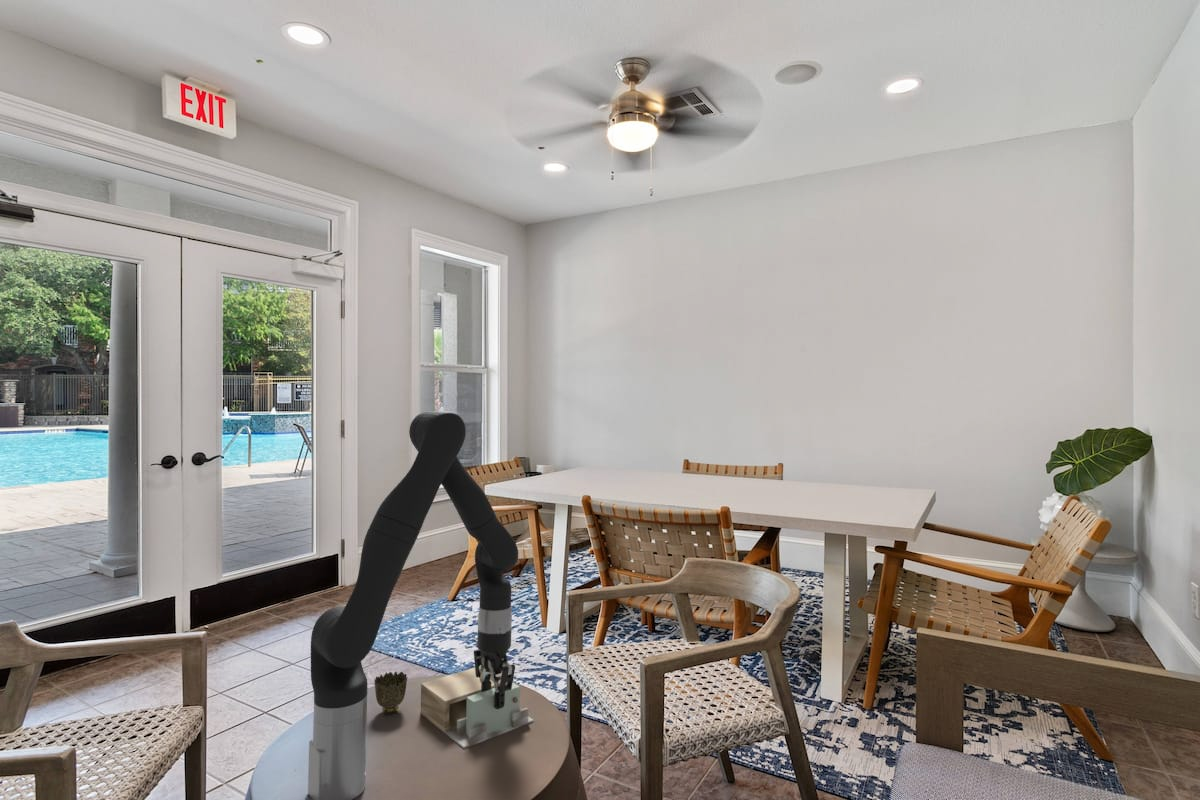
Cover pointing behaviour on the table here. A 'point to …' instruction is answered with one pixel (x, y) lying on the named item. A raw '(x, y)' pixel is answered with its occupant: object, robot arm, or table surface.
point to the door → (492, 709)
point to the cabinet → (460, 707)
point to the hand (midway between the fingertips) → (492, 703)
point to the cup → (390, 691)
